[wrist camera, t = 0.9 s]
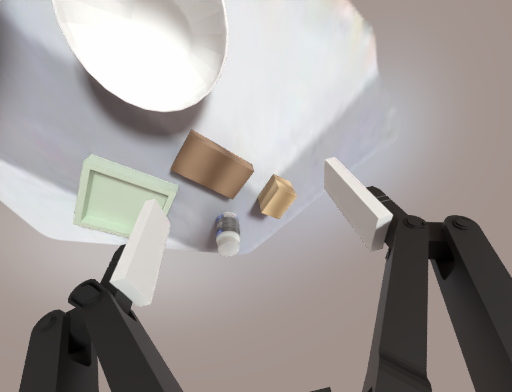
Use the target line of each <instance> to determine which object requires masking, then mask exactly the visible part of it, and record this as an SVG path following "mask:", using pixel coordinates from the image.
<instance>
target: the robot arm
mask: <svg viewBox="0 0 512 392" xmlns="http://www.w3.org/2000/svg"><path fill="white" fill-rule="evenodd" d="M324 189H325V190H326V192H327V193H328V194H329V196H330V197H331V198H332V200H333V201H334V203H335V204H336V205H337V207H338V208H339V210H340V211H341V212H342V214H343V215H344V216H345V218H346V219H347V221H348V222H349V223H350V225H351V226H352V228H353V229H354V230H355V232H356V233H357V234H358V236H359V237H360V239H361V240H362V241H363V243H364V244H365V246H366V247H367V248H368V250H369V251H370V252H371V251H375V250H379V249H382V248H383V245H384V242H385V243H386V244H387V245H388V247H389V249H388V252H387V255H386V265H385V271H384V276H383V282H382V288H381V294H380V300H379V305H378V311H377V317H376V323H375V328H374V334H373V340H372V346H371V351H370V357H369V363H368V369H367V374H366V378H365V381H364V386H363V390H362V392H432V388H431V384H430V382H429V380H428V379H427V372H426V367H427V366H426V364H427V363H426V362H427V304H428V259H430V261H431V263H432V266H433V269H434V272H435V275H436V278H437V281H438V284H439V287H440V290H441V293H442V295H443V298H444V301H445V304H446V307H447V310H448V313H449V315H450V319H451V321H452V324H453V327H454V330H455V333H456V336H457V339H458V342H459V345H460V347H461V350H462V353H463V356H464V359H465V362H466V365H467V368H468V371H469V374H470V376H471V380H472V382H473V385H474V388H475V391H476V392H512V278H511V277H510V275H509V273H508V271H507V270H506V268H505V266H504V265H503V263H502V262H501V260H500V259H499V257H498V255H497V254H496V252H495V251H494V249H493V247H492V246H491V244H490V243H489V241H488V239H487V238H486V236H485V235H484V233H483V231H482V230H481V228H480V227H479V225H478V224H477V223H476V222H474V221H473V220H471V219H469V218H466V217H463V216H457V215H452V216H448V217H447V218H446V219H445V220H444V222H426V221H424V220H423V219H421V218H420V217H417V216H412V215H407V214H406V213H405V212H404V211H403V210H402V209H401V208H400V207H399V206H398V205H396V204H395V203H394V202H393V201H392V200H390V198H389V197H388V196H386V195H385V194H384V193H383V192H382V191H381V190H380V189H378V188H376V187H373V186H371V187H366V188H365V187H364V186H363V185H362V184H361V183H360V182H359V181H358V180H357V179H356V178H355V177H354V176H353V175H352V174H351V173H350V172H349V171H348V170H347V169H346V168H345V167H344V166H343V165H342V164H341V163H340V162H339V161H338V160H337V159H336V158H335V157H333V158H329V159H325V175H324ZM170 225H171V224H170V222H169V220H168V219H167V217H166V215H165V214H164V212H163V210H162V209H161V207H160V205H159V204H158V202H157V200H156V199H152V200H147V201H145V203H144V205H143V207H142V210H141V212H140V214H139V217H138V219H137V221H136V223H135V226H134V228H133V230H132V232H131V235H130V237H129V239H128V241H127V244H125V245H121V246H120V247H119V248H118V250H117V251H116V252H115V253H114V255H113V258H112V261H111V262H110V264H109V267H108V268H107V270H106V272H105V274H104V277H103V279H102V281H101V283H99V282H98V281H96V280H95V279H90V280H87V281H84V282H83V283H81V284H80V285H78V286H77V287H76V288H75V289H74V290H73V291H72V293H71V294H70V296H69V298H68V303H70V304H71V305H73V306H74V307H76V308H74V309H72V310H70V311H68V312H66V313H65V312H63V311H61V310H54V311H52V312H49V313H48V314H46V315H45V316H44V317H42V318H41V319H40V320H39V321H38V322H37V324H36V325H35V326H34V328H33V330H32V333H31V337H30V341H29V346H28V351H27V356H26V360H25V366H24V370H23V375H22V379H21V384H20V389H19V392H99V389H98V388H99V387H98V361H97V356H98V358H99V361H100V363H101V366H102V369H103V371H104V374H105V376H106V379H107V382H108V384H109V387H110V389H111V392H183V390H182V389H181V387H180V386H179V384H178V382H177V381H176V379H175V378H174V376H173V375H172V373H171V371H170V370H169V368H168V367H167V365H166V363H165V362H164V360H163V358H162V357H161V355H160V353H159V352H158V350H157V349H156V347H155V346H154V344H153V343H152V341H151V339H150V337H149V336H148V334H147V333H146V331H145V330H144V328H143V326H142V325H141V323H140V321H139V320H138V318H137V317H136V315H135V313H134V312H133V311H132V310H131V305H132V302H133V303H134V304H135V305H136V306H137V307H140V306H144V305H148V304H151V301H152V297H153V293H154V289H155V285H156V281H157V277H158V273H159V269H160V265H161V261H162V257H163V253H164V249H165V245H166V241H167V237H168V233H169V229H170ZM311 392H331V389H330V387H328V388H324V389H320V390H316V391H311Z"/></svg>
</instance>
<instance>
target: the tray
mask: <svg viewBox="0 0 512 392" xmlns="http://www.w3.org/2000/svg"><path fill="white" fill-rule="evenodd" d="M177 189H178V185H176V184H173V183H170V182H167V181H165V180H162V179H159V178H156V177H154V176H151V175H148V174H145V173H143V172H140V171H137V170H134V169H132V168H129V167H126V166H123V165H121V164H118V163H115V162H113V161H110V160H107V159H104V158H102V157H99V156H96V155H93V154H91V155H90V156H89V157H88V158H86V159H85V160H84V161H83V166H82V172H81V179H80V185H79V191H78V197H77V203H76V210H75V216H74V222H73V224H75V225H79V226H83V227H87V228H91V229H95V230H99V231H103V232H107V233H111V234H115V235H120V236H124V237H128V238H129V237H130V235H131V232H132V230H133V228H134V226H135V223H136V221H137V219H138V217H139V214H140V212H141V210H142V207H143V205H144V203H145V201H147V200H152V199H156V200H157V202H158V204H159V205H160V207H161V209H162V210H163V212H164V214H165V215H167V213H168V211H169V209H170V206H171V204H172V202H173V199H174V197H175V195H176V192H177Z"/></svg>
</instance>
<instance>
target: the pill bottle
mask: <svg viewBox="0 0 512 392" xmlns="http://www.w3.org/2000/svg"><path fill="white" fill-rule="evenodd" d="M239 242H240V230H239V220H238V217H237V215H236V214H234V213H232V212H223V213H221V214H220V215H219V216H218V217H217V223H216V243H217V245H218V252H219V254H221V255H223V256H233V255H235V254H236V253H237V252H238V251H239Z"/></svg>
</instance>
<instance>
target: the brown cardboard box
mask: <svg viewBox="0 0 512 392" xmlns="http://www.w3.org/2000/svg"><path fill="white" fill-rule="evenodd" d="M171 170H172V171H174V172H176V173H178V174H180V175H182V176H184V177H186V178H189V179H191V180H193V181H195V182H197V183H199V184H201V185H203V186H205V187H208V188H210V189H212V190H214V191H216V192H218V193H220V194H222V195H224V196H227V197H229V198H231V199H233V198H234V197H235V196H236V194H237V193H238V192H239V191H240V189H241V188H242V187H243V185H244V184H245V183H246V181H247V180H248V179H249V177H250V176H251V175H252V173H253V172H254V170H253V166H252V164H250V163H249V162H247V161H245V160H243V159H242V158H240V157H238V156H237V155H235V154H233V153H231V152H230V151H228V150H226V149H225V148H223V147H221V146H219V145H218V144H216V143H214V142H213V141H211V140H209V139H207V138H206V137H204V136H202V135H201V134H199V133H197V132H195V131H194V130H192V129H191V131H190V133H189V135H188V136H187V138H186V140H185V142H184V144H183V146H182V148H181V149H180V151H179V153H178V155H177V157H176V159H175V161H174V162H173V165H172V167H171Z"/></svg>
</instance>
